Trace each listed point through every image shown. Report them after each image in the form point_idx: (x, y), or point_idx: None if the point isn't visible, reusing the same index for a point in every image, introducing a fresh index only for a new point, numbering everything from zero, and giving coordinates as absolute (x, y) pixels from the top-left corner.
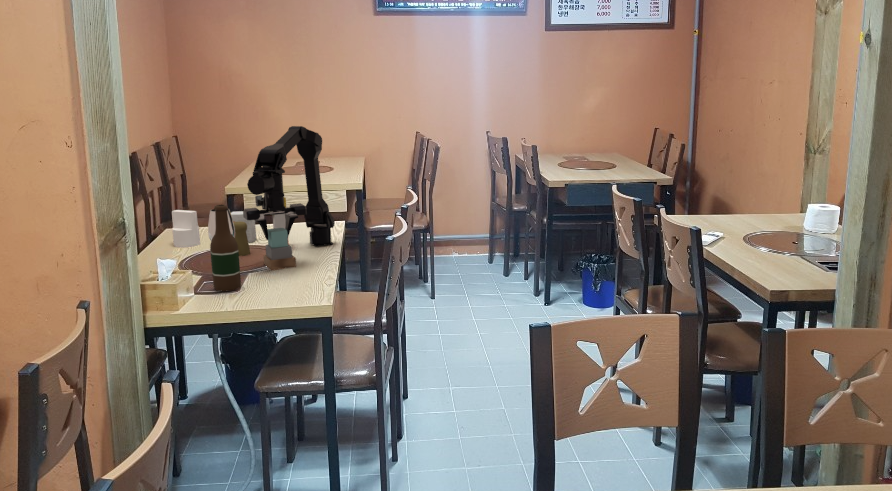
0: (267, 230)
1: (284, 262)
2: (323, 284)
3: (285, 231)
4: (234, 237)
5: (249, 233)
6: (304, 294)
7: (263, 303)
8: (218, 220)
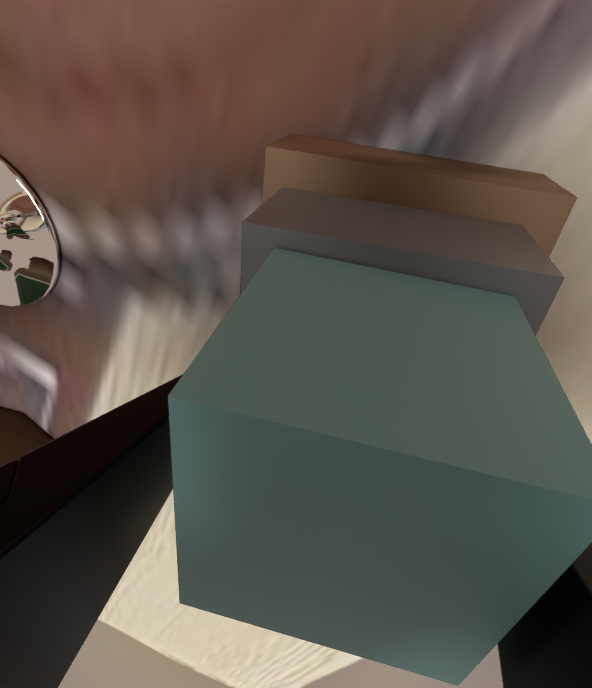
0: (109, 593)
1: None
2: None
3: (421, 662)
4: None
5: None
6: (256, 643)
7: (124, 614)
8: None
